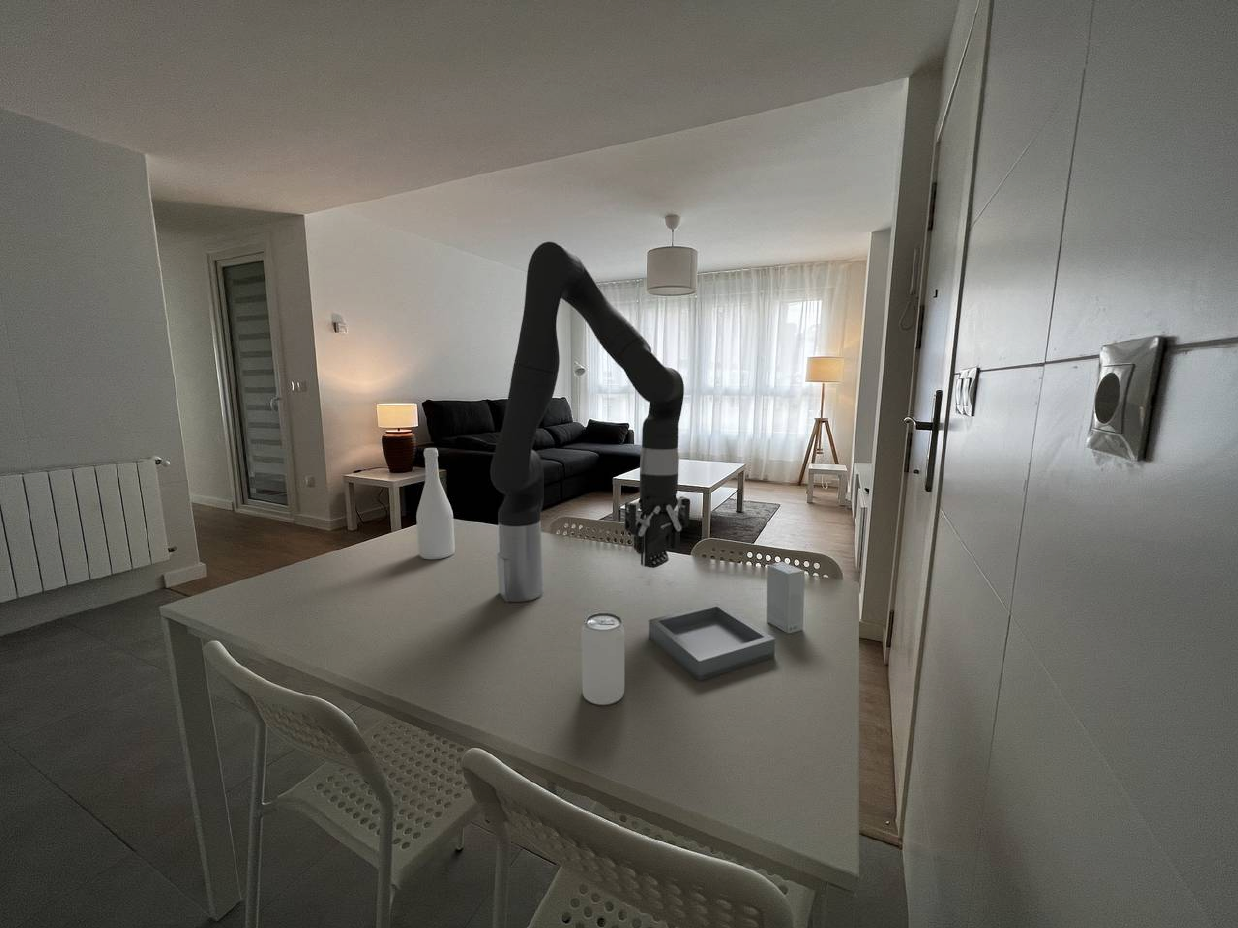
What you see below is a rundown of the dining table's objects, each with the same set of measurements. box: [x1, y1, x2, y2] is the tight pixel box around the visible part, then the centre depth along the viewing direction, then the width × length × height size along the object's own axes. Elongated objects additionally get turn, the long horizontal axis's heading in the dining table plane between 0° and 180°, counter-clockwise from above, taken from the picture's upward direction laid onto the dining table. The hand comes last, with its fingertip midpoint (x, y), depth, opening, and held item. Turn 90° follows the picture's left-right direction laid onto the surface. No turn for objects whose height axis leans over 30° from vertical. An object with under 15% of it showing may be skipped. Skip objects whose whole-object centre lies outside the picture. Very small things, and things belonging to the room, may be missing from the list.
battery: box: [640, 512, 673, 569], centre depth 101 cm, size 7×4×11 cm, turn 142°
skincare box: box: [766, 561, 805, 634], centre depth 98 cm, size 6×4×12 cm
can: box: [581, 612, 625, 706], centre depth 76 cm, size 6×6×12 cm
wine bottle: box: [415, 447, 456, 560], centre depth 138 cm, size 10×10×30 cm
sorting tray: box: [648, 602, 776, 682], centre depth 90 cm, size 16×16×4 cm
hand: (656, 550), depth 101 cm, fingers closed on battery, 7 cm apart
